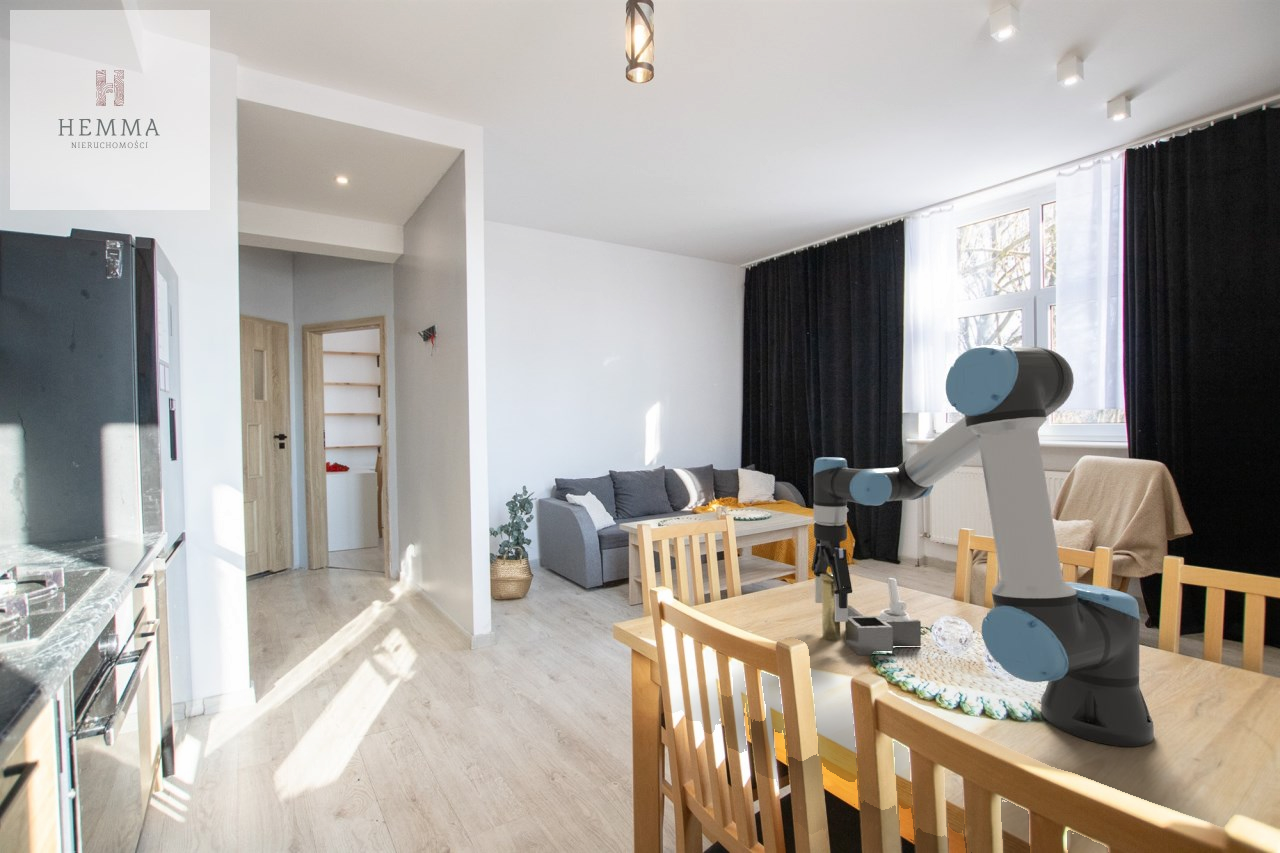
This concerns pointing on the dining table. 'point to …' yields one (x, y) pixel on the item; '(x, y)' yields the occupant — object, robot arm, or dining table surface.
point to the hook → (894, 604)
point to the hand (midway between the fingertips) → (830, 611)
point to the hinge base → (879, 633)
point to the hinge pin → (829, 608)
